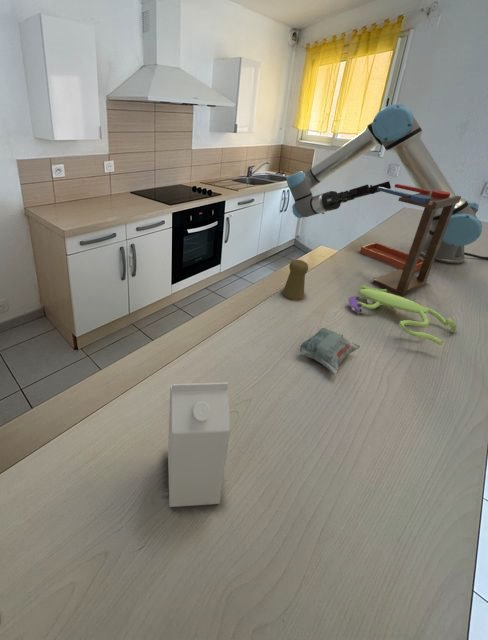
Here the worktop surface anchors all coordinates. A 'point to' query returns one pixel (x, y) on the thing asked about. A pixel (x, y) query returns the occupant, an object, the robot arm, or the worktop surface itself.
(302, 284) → the cork
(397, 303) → the figurine
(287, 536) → the worktop surface
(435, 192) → the red spoon
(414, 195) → the blue spoon
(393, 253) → the tray
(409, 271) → the slanted wooden stand
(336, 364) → the packaged food
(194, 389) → the milk carton
